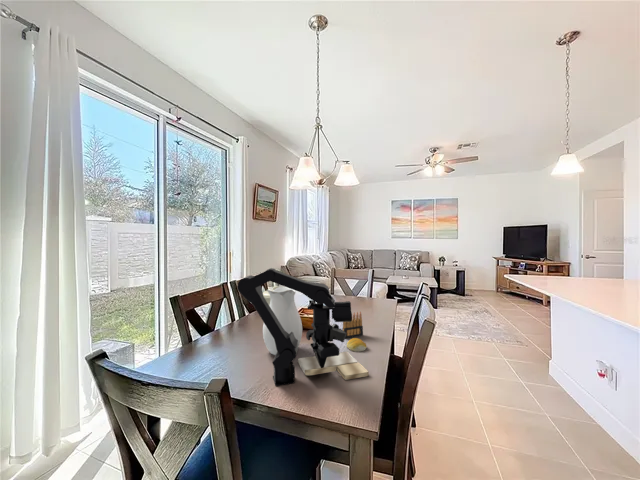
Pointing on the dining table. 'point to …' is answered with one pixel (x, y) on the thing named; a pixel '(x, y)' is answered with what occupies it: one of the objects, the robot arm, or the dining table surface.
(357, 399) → the dining table surface
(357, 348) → the bread roll
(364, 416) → the dining table surface
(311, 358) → the board
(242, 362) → the dining table surface
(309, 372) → the plank inner
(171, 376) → the dining table surface
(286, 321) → the pitcher
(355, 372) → the plank outer
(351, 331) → the ammunition clip
